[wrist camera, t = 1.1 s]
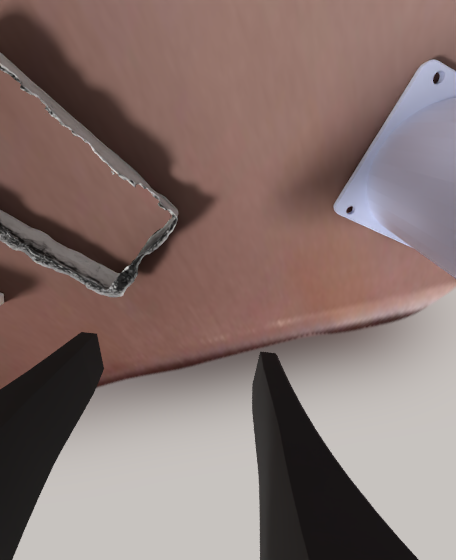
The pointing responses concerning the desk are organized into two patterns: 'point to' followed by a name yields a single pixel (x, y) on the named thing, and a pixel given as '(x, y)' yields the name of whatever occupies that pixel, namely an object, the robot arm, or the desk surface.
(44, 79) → the desk surface
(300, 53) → the desk surface
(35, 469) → the robot arm
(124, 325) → the desk surface
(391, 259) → the desk surface
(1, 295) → the box
